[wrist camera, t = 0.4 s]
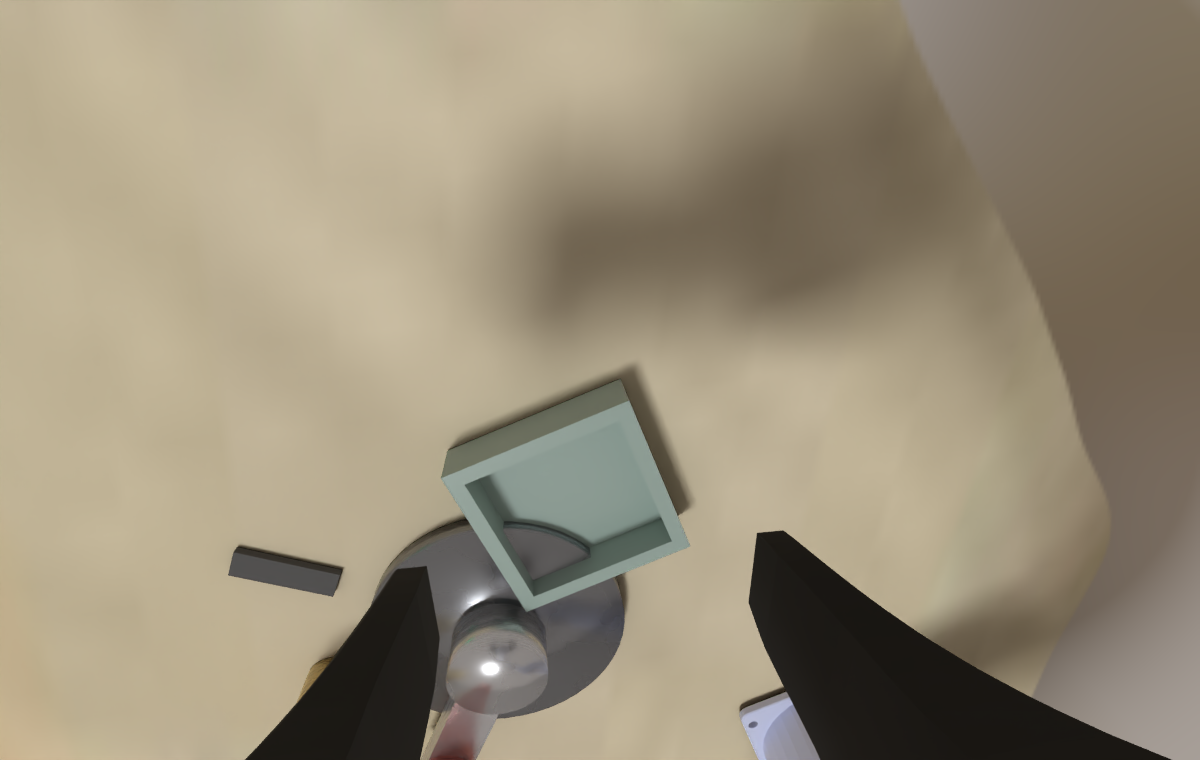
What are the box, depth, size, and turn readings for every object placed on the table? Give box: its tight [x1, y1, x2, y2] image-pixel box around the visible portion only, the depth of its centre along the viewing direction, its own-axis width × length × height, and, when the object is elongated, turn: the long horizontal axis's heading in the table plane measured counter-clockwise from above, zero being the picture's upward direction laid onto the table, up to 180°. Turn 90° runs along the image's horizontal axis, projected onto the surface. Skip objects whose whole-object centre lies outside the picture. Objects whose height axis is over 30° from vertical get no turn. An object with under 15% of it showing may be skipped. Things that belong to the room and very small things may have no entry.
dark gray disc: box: [371, 520, 624, 718], centre depth 25 cm, size 11×11×1 cm
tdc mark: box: [228, 547, 342, 597], centre depth 22 cm, size 4×1×1 cm, turn 66°
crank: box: [421, 603, 548, 760], centre depth 23 cm, size 10×4×4 cm, turn 156°
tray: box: [441, 379, 690, 612], centre depth 22 cm, size 7×7×2 cm
